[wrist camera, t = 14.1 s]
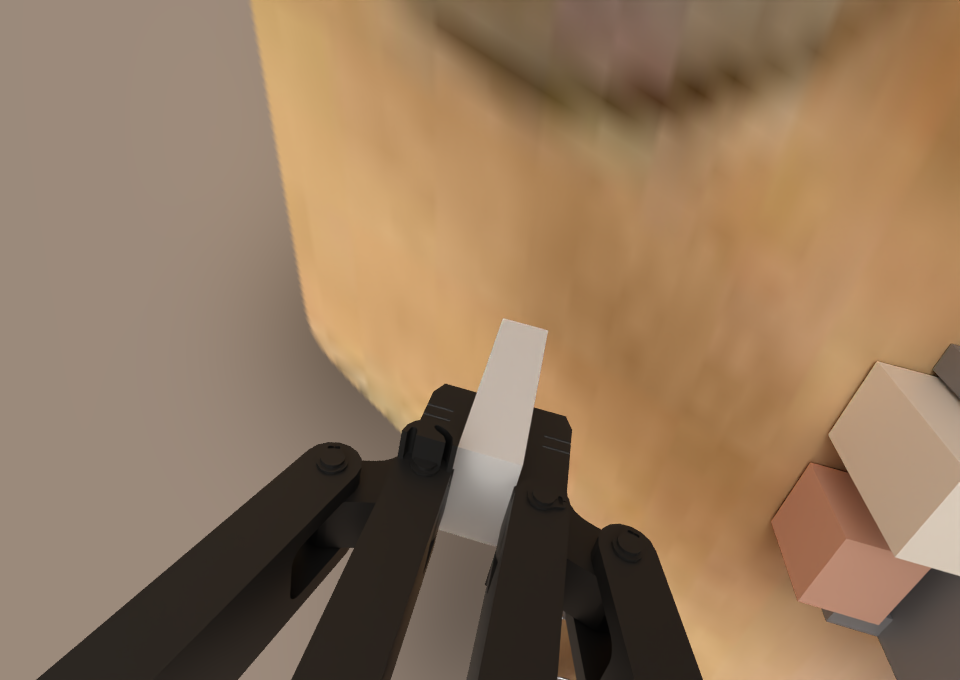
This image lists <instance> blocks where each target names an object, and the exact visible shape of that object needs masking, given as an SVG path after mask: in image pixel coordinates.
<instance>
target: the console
mask: <svg viewBox="0 0 960 680" xmlns="http://www.w3.org/2000/svg"><path fill="white" fill-rule="evenodd" d="M932 370H933V371H934V372H935V373H936V374H937V375H938V376H939V377H940V378H941V379H942V380H943V381H944V382H945V383H946V384H947V385H948V386H949V387H950V388H951V389H952V391H953V392H954V393H955V394H956V395H957V396H958V397H959V398H960V346H958V345H954V344H950V346H949V347H948V349H947V350H946V351H945V353H944V354H943V355H942V357H941V358H940V360H939V361H938V362H937V364H936V365H935V366H934V368H933V369H932ZM821 609H822V608H821ZM822 612H823V614H824V617H825V620H826V621H827V622H830V623H834V624H837V625H840V626H844V627H847V628H850V629H854V630H857V631H861V632H864V633H867V634H871V635H874V636H877V637H878V639H879V641H880V643H881V646H882V648H883V650H884V652H885V655H886V657H887V659H888V661H889V664H890V666H891V668H892V670H893V673H894V675H895V677H896V679H897V680H960V576H958V575H955V574H951V573H948V572H944V571H941V570H937V569H934V568H931V569H930V570H929V571H928V572H927V573H926V574H925V575H924V577H923V578H922V579H921V580H920V581H919V582H918V583H917V584H916V585H915V586H914V587H913V588H912V590H911V591H910V592H909V593H908V594H907V595H906V596H905V597H904V598H903V599H902V600H901V601H900V603H899V604H898V605H897V606H896V607H895V608H894V609H893V610H892V611H891V612H890V613H889V614H888V615H887V617H886V618H885V619H884V620H883V621H882V622H881V623H880V624H879V625H876V624H873V623H870V622H866V621H863V620H860V619H856V618H853V617H849V616H846V615H843V614H839V613H836V612H832V611H829V610H826V609H822Z"/></svg>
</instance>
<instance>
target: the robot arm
mask: <svg viewBox="0 0 960 680" xmlns="http://www.w3.org/2000/svg"><path fill="white" fill-rule="evenodd" d="M547 334H548V330H545V329H541V328H537V327H534V326H530V325H526V324H523V323H519V322H515V321H512V320H508V319H504V318H503V320H502V322H501V325H500V328H499V331H498V334H497V337H496V340H495V342H494V345H493V348H492V351H491V354H490V357H489V360H488V362H487V365H486V368H485V371H484V374H483V377H482V379H481V382H480V385H479V388H478V391H477V393H476V392H473V391H469V390H466V389H462V388H459V387H455V386H452V385H448V384H444V385H443V386H441V387H440V388H438V389H437V390H435V391H434V392H433V394H432V396H431V398H430V400H429V402H428V405H427V407H426V409H425V411H424V414H423V415H422V417H421V420H418V421H414V422H412V423H410V424H407V426H406V427H405V428H404V429H403V430H402V434H401V440H400V446H399V452H398V456H397V457H395V458H393V459H389V460H385V461H362V459H361V457H360V456H359V454H358V452H357V451H356V450H354V449H353V448H351V447H350V446H347V445H345V444H342V443H332V442H327V443H323V444H318V445H316V446H314V447H313V448H311V449H309V450H308V451H307V452H305V453H304V454H303V455H302V456H301V457H299V458H298V459H297V460H296V461H295V462H294V463H292V464H291V465H290V466H289V467H288V468H286V469H285V470H284V471H283V472H282V473H281V474H279V475H278V476H277V477H276V478H275V479H273V481H271V482H270V483H269V484H268V485H266V486H265V487H264V488H263V489H262V490H260V491H259V492H258V493H257V494H256V495H254V496H253V497H252V498H251V499H250V500H249V501H247V502H246V503H245V504H244V505H243V506H241V507H240V508H239V509H238V510H237V511H236V512H234V513H233V514H232V515H231V516H230V517H228V518H227V519H226V520H225V521H224V522H222V523H221V524H220V525H219V526H218V527H217V528H215V529H214V530H213V531H212V532H211V533H209V534H208V535H207V536H206V537H205V538H204V539H202V540H201V541H200V542H199V543H198V544H196V545H195V546H194V547H193V548H192V549H191V550H189V551H188V552H187V553H186V554H185V555H183V556H182V557H181V558H180V559H179V560H178V561H177V562H175V563H174V564H173V565H172V566H171V567H169V568H168V569H167V570H166V571H164V572H163V573H162V574H161V575H160V576H159V577H158V578H156V579H155V580H154V581H153V582H152V583H150V584H149V585H148V586H147V587H145V589H143V590H142V591H141V592H140V593H138V594H137V595H136V596H135V597H134V598H133V599H131V600H130V601H129V602H128V603H127V604H125V605H124V606H123V607H122V608H121V609H119V610H118V611H117V612H116V613H115V614H114V615H112V616H111V617H110V618H109V619H108V620H107V621H105V622H104V623H103V624H102V625H100V627H98V628H97V629H96V630H95V631H93V632H92V633H91V634H90V635H89V636H87V637H86V638H85V639H84V640H83V641H82V642H80V643H79V644H78V645H77V646H76V647H74V649H72V650H71V651H70V652H69V653H67V654H66V655H65V656H64V657H63V658H61V659H60V660H59V661H58V662H57V663H55V664H54V665H53V666H52V667H51V668H50V669H48V670H47V671H46V672H45V673H44V674H43V675H41V676H40V677H39V678H38V679H37V680H238V679H239V678H240V677H241V675H242V674H243V673H244V672H245V671H246V669H247V668H248V667H249V666H250V665H251V664H252V663H253V661H254V660H255V659H256V658H257V657H258V656H259V654H260V653H261V652H262V651H263V650H264V649H265V647H266V646H267V645H268V644H269V643H270V642H271V640H272V639H273V638H274V637H275V636H276V635H277V633H278V632H279V631H280V630H281V629H282V627H283V626H284V625H285V624H286V623H287V622H288V621H289V619H290V618H291V617H292V616H293V615H294V614H295V612H296V611H297V610H298V609H299V608H300V607H301V605H302V604H303V603H304V602H305V601H306V600H307V598H308V597H309V596H310V595H311V594H312V593H313V591H314V590H315V589H316V588H317V587H318V586H319V584H320V583H321V582H322V581H323V580H324V579H325V577H326V576H327V575H328V574H329V572H331V570H332V569H333V568H334V567H335V566H336V565H337V563H338V562H339V561H340V560H341V558H343V556H344V555H345V554H346V553H347V551H348V550H349V548H354V550H353V552H352V554H351V556H350V558H349V560H348V562H347V565H346V566H345V568H344V571H343V573H342V575H341V577H340V579H339V581H338V583H337V585H336V587H335V589H334V592H333V594H332V596H331V598H330V600H329V602H328V604H327V606H326V608H325V610H324V612H323V615H322V617H321V619H320V621H319V623H318V625H317V627H316V629H315V631H314V633H313V635H312V638H311V640H310V642H309V644H308V646H307V648H306V650H305V652H304V654H303V656H302V658H301V661H300V663H299V665H298V667H297V669H296V671H295V673H294V675H293V677H292V680H390V679H391V677H392V674H393V670H394V668H395V664H396V661H397V658H398V655H399V652H400V649H401V646H402V643H403V640H404V637H405V634H406V631H407V628H408V625H409V621H410V618H411V615H412V612H413V609H414V606H415V603H416V600H417V597H418V594H419V590H420V588H421V585H422V582H423V578H424V575H425V572H426V569H427V566H428V563H429V560H430V557H431V554H432V551H433V548H434V544H435V539H436V535H437V532H438V530H441V531H445V532H448V533H451V534H455V535H458V536H461V537H465V538H468V539H471V540H475V541H478V542H481V543H485V544H488V545H491V546H495V547H497V548H496V552H495V555H494V558H493V561H492V564H491V567H490V570H489V574H488V577H487V580H486V583H485V585H486V586H487V587H486V592H485V596H484V601H483V606H482V611H481V615H480V620H479V625H478V629H477V634H476V639H475V643H474V648H473V653H472V657H471V662H470V667H469V671H468V675H467V680H557V679H558V666H559V653H560V640H561V626H562V613H563V611H564V612H565V619H566V625H567V630H568V636H569V641H570V647H571V652H572V658H573V663H574V669H575V674H576V680H703V678H702V676H701V673H700V670H699V668H698V665H697V662H696V659H695V657H694V654H693V651H692V648H691V646H690V643H689V640H688V637H687V635H686V632H685V629H684V626H683V624H682V621H681V618H680V616H679V613H678V610H677V607H676V605H675V602H674V599H673V596H672V594H671V591H670V588H669V585H668V583H667V580H666V577H665V574H664V572H663V569H662V566H661V563H660V561H659V558H658V555H657V553H656V550H655V548H654V547H653V545H652V543H651V541H650V540H649V539H648V538H646V537H645V536H644V535H643V534H642V533H641V532H639V531H637V530H636V529H634V528H632V527H630V526H626V525H622V524H610V525H608V526H606V527H604V528H603V529H602V530H601V529H599V528H597V527H596V526H594V525H592V524H590V523H589V522H587V521H586V520H584V519H583V518H581V517H580V516H579V515H578V514H577V513H576V512H575V511H574V509H573V508H572V506H571V505H570V502H569V498H568V497H567V484H568V472H569V460H570V448H571V445H570V444H571V436H572V429H571V427H570V424H569V422H568V420H567V418H566V416H562V415H559V414H555V413H552V412H548V411H544V410H541V409H537V408H534V403H535V398H536V392H537V387H538V382H539V377H540V371H541V366H542V361H543V355H544V350H545V345H546V339H547Z"/></svg>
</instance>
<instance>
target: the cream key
mask: <svg viewBox="0 0 960 680" xmlns="http://www.w3.org/2000/svg"><path fill="white" fill-rule="evenodd" d="M828 436H829V438H830V439H831V441H832V443H833V445H834V447H835V449H836V450H837V452H838V454H839V456H840V458H841V460H842V461H843V463H844V465H845V467H846V469H847V471H848V472H849V474H850V476H851V478H852V480H853V482H854V483H855V485H856V487H857V489H858V491H859V493H860V494H861V496H862V498H863V500H864V502H865V504H866V505H867V507H868V509H869V511H870V513H871V515H872V516H873V518H874V520H875V522H876V524H877V526H878V527H879V529H880V531H881V533H882V535H883V537H884V538H885V540H886V542H887V544H888V546H889V548H890V549H891V551H892V553H893V555H894V557H896V558H899V559H902V560H906V561H909V562H913V563H916V564H920V565H923V566H927V567H930V568H934V569H937V570H941V571H944V572H948V573H951V574H955V575H958V576H960V398H959V397H958V396H957V395H956V394H955V393H954V392H953V391H952V389H951V388H950V387H949V386H948V385H947V384H946V383H945V382H944V381H943V380H942V379H941V378H939V377H935V376H931V375H928V374H924V373H920V372H916V371H913V370H909V369H905V368H901V367H898V366H894V365H890V364H886V363H883V362H879V361H877V362H876V363H875V365H874V366H873V368H872V369H871V371H870V372H869V374H868V375H867V377H866V378H865V380H864V381H863V383H862V384H861V386H860V387H859V389H858V390H857V392H856V393H855V395H854V396H853V398H852V399H851V401H850V402H849V404H848V405H847V407H846V408H845V410H844V411H843V413H842V415H841V416H840V418H839V419H838V421H837V422H836V424H835V425H834V427H833V428H832V430H831V431H830V433H829V434H828Z"/></svg>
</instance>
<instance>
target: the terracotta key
mask: <svg viewBox="0 0 960 680" xmlns="http://www.w3.org/2000/svg"><path fill="white" fill-rule="evenodd" d="M771 523H772V526H773V529H774V532H775V535H776V538H777V541H778V544H779V547H780V550H781V553H782V556H783V559H784V562H785V565H786V568H787V571H788V574H789V577H790V580H791V583H792V586H793V589H794V592H795V595H796V598H797V601H799V602H802V603H805V604H809V605H812V606H816V607H819V608H822V609H826V610H829V611H832V612H836V613H839V614H843V615H846V616H849V617H853V618H856V619H860V620H863V621H866V622H870V623H873V624H876V625H879V624H880V623H881V622H882V621H883V620H884V619H885V618H886V617H887V615H888V614H889V613H890V612H891V611H892V610H893V609H894V608H895V607H896V606H897V605H898V604H899V603H900V601H901V600H902V599H903V598H904V597H905V596H906V595H907V594H908V593H909V592H910V591H911V590H912V588H913V587H914V586H915V585H916V584H917V583H918V582H919V581H920V580H921V579H922V578H923V577H924V575H925V574H926V573H927V572H928V571H929V570H930V569H931V568H930V567H927V566H923V565H920V564H916V563H913V562H909V561H906V560H902V559H899V558H896V557H894V555H893V553H892V551H891V549H890V548H889V546H888V544H887V542H886V540H885V538H884V537H883V535H882V533H881V531H880V529H879V527H878V526H877V524H876V522H875V520H874V518H873V516H872V515H871V513H870V511H869V509H868V507H867V505H866V504H865V502H864V500H863V498H862V496H861V494H860V493H859V491H858V489H857V487H856V485H855V483H854V482H853V480H852V478H851V476H850V474H849V473H847V472H843V471H840V470H836V469H833V468H829V467H825V466H822V465H818V464H815V463H811V462H810V464H809V465H808V467H807V468H806V470H805V471H804V473H803V474H802V476H801V477H800V479H799V480H798V482H797V483H796V485H795V486H794V488H793V489H792V491H791V492H790V494H789V495H788V497H787V498H786V500H785V501H784V503H783V504H782V506H781V507H780V509H779V510H778V512H777V513H776V515H775V516H774V518H773V519H772V521H771Z"/></svg>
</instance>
